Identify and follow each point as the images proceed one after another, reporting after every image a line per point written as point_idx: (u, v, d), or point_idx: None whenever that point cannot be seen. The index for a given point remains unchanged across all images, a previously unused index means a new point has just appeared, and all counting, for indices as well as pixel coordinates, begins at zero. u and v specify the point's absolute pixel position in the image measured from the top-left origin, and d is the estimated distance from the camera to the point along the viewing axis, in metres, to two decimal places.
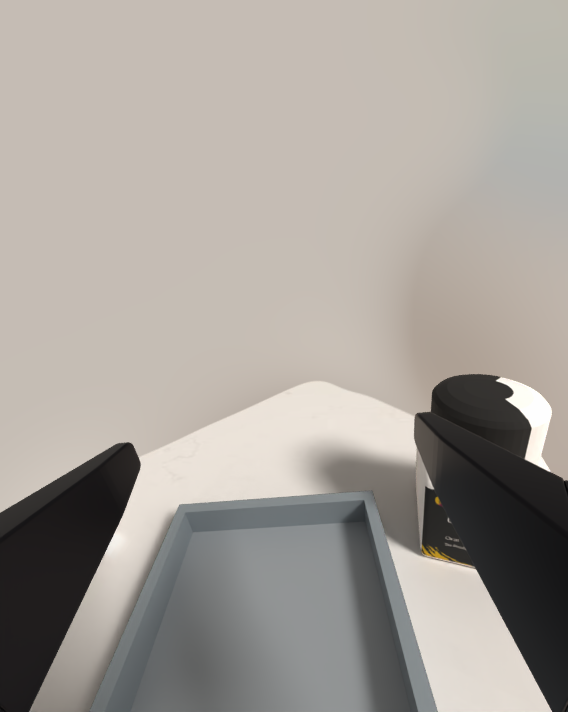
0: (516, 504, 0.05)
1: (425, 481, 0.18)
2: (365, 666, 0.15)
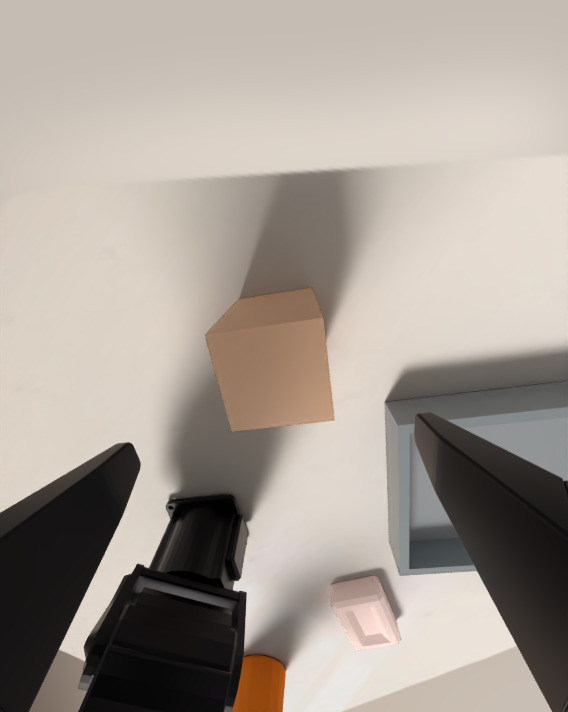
0: (516, 504, 0.05)
1: None
2: None
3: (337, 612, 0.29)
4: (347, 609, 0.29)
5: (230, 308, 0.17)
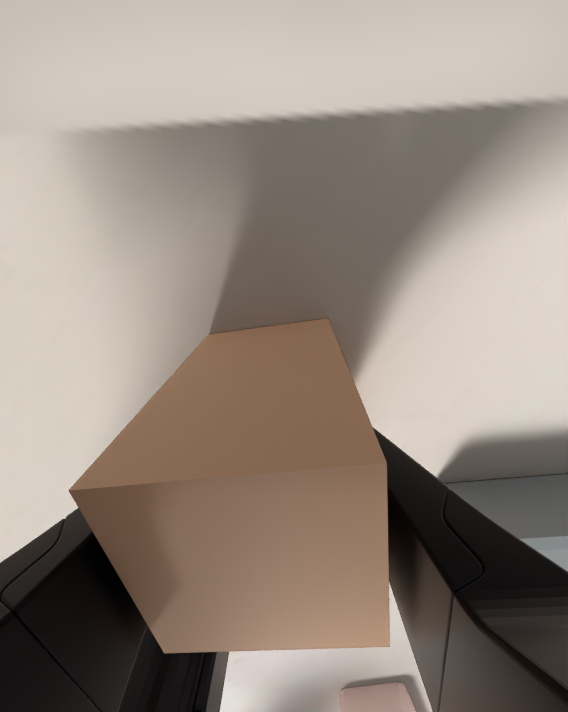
0: (398, 513, 0.05)
1: None
2: None
3: None
4: None
5: (184, 363, 0.09)
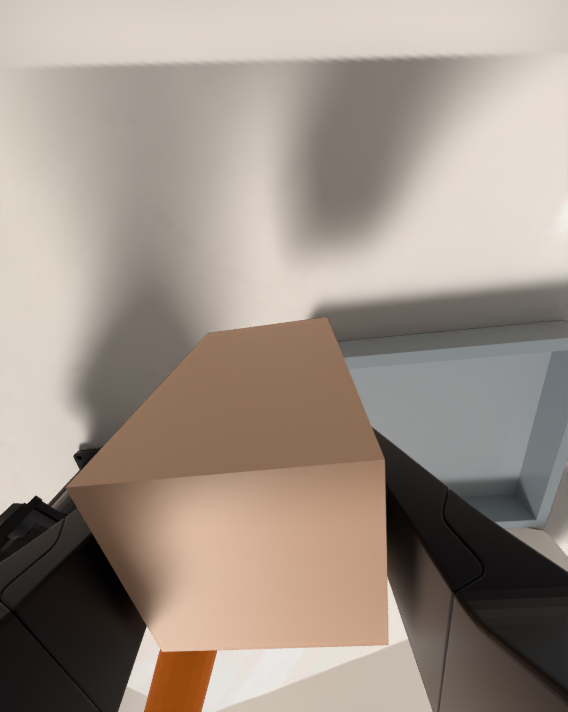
0: (398, 513, 0.05)
1: None
2: None
3: None
4: None
5: (182, 361, 0.09)
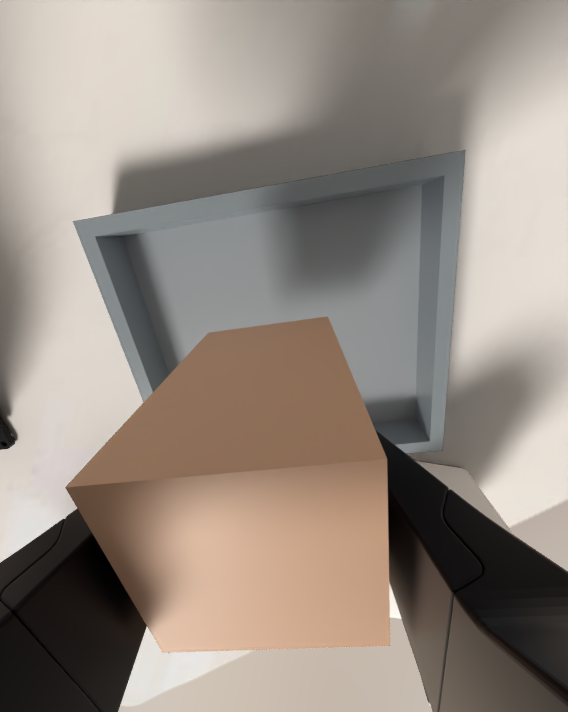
0: (398, 513, 0.05)
1: None
2: None
3: None
4: None
5: (183, 360, 0.09)
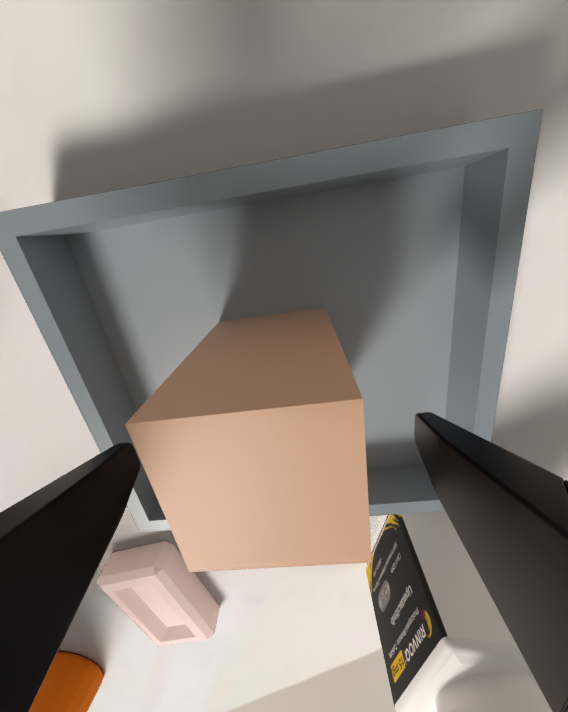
0: (516, 504, 0.05)
1: (453, 642, 0.12)
2: None
3: (105, 592, 0.20)
4: (115, 587, 0.20)
5: (200, 343, 0.11)
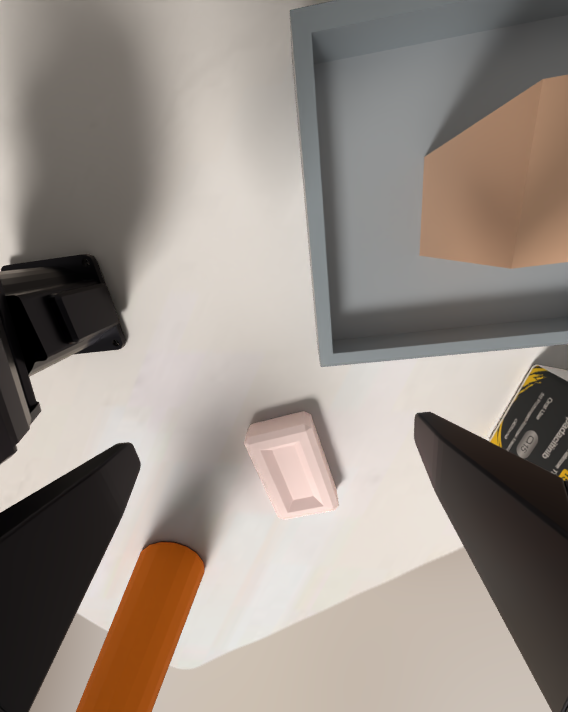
0: (516, 504, 0.05)
1: None
2: (456, 300, 0.18)
3: (251, 452, 0.22)
4: (264, 446, 0.21)
5: (452, 138, 0.12)
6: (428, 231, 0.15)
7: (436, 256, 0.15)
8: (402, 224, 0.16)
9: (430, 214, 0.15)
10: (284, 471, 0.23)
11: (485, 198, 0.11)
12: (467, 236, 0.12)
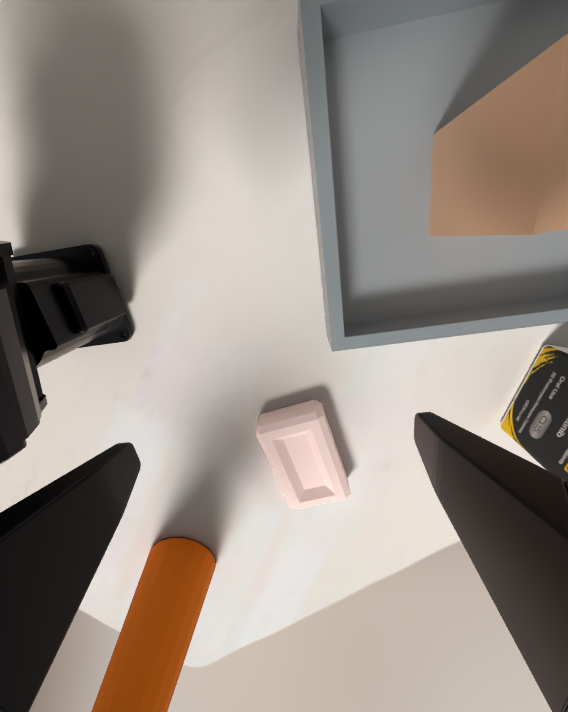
0: (516, 504, 0.05)
1: None
2: (467, 281, 0.18)
3: (262, 442, 0.22)
4: (275, 435, 0.21)
5: (464, 111, 0.12)
6: (438, 210, 0.15)
7: (448, 234, 0.15)
8: (411, 204, 0.16)
9: (441, 192, 0.15)
10: (295, 461, 0.23)
11: (502, 166, 0.10)
12: (482, 208, 0.12)
